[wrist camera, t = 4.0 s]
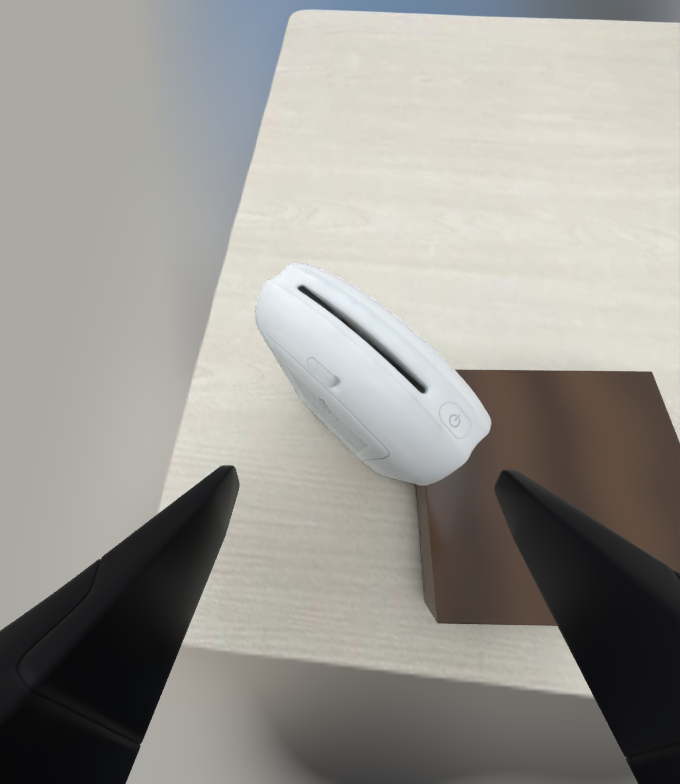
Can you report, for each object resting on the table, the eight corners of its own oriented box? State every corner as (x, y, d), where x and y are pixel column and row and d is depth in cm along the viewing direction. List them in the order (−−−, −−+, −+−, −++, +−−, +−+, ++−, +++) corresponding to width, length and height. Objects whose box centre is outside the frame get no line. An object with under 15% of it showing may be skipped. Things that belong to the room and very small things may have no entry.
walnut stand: (422, 599, 16) (437, 624, 13) (406, 380, 20) (415, 368, 18) (690, 604, 15) (754, 630, 13) (614, 382, 20) (652, 371, 17)
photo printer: (419, 442, 18) (558, 400, 7) (382, 485, 18) (464, 523, 6) (326, 356, 21) (304, 209, 9) (288, 390, 20) (208, 277, 8)
